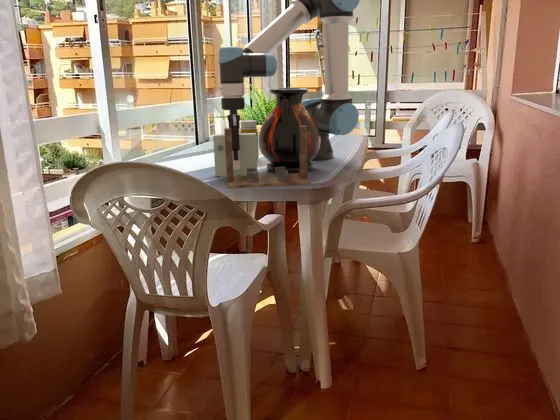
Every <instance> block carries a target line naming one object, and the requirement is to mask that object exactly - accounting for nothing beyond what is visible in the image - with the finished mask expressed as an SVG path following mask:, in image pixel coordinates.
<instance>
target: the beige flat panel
mask: <svg viewBox="0 0 560 420" xmlns="http://www.w3.org/2000/svg"><path fill="white" fill-rule="evenodd" d="M212 135H213V136H212V138H213V139H212V141H213V142H212V143H213V154H214V155H213V156H214V176H220V177H227V172H226V152H225V133H224V134H223V133H222V134H217V133H216V134H212ZM239 146H240V149H239V150H240V170H233V176H238V175H241V176H247V168H257V169H258V159H257V149H256V133H243V134H240V133H239Z"/></svg>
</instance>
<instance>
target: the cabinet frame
mask: <svg viewBox="0 0 560 420" xmlns="http://www.w3.org/2000/svg"><path fill="white" fill-rule="evenodd" d="M223 129H224V130H223V131H224V134H225V152H226V172H227V176H225V177H226V184H227V188H228V189H238V188H240V189H241V188H257V187H259V188H260V187H277V186H279V187H280V186H281V185H282V186H298V185H301V184H302V185H311V183H312V182H311V180H310V179H309V178H308V177H309V176H308V175H309V173H308V172H309V171H308V157H307V126H306V125H304V126H299V162H300V173H288V171H287V170H285V167H275V172H274V173H275V174H259V171H258V167H257V168H247V175H241V176H233V155H232V134H231V128H229V127H225V128H223Z"/></svg>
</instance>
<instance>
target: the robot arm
mask: <svg viewBox="0 0 560 420" xmlns="http://www.w3.org/2000/svg"><path fill="white" fill-rule="evenodd" d="M359 3H360V0H291V1H290V2H289V6H288V8H286V9H285V10H284V11H283V12H281V14H279V16H278V17H276V18H275V19H274V20H273V21H272V22H271V23H270V24H269V25H267V27H265V28H264V29H263V30H262V31H261V32H259V33H258V34H257V35H256V36H255V37H254V38H253V39H252V40H251V41H250V42H249V43H247V44H246V45H245V46H244V47H241V46H221V47H220V48H219V52H218V64H219V76H220V77H219V79H220V86H219V87H218V90H220V95H221V99H220V101H221V110H223V111H229V114H228V115H226V116H227V122H228V128H231V134H232V155H233V170H240V150H239V149H240V146H239V134H240V128H241V115H240V114H238V111H239V110H241V111H242V110H244V109H245V105H246V104H245V102H246V101H245V98H244V96H245V82H244V81H245V78H267V77H273V76H274V75H275V74H276V73H277V70H278V61H277V58H276V56H275V55H274V54H273V51H275V49H277V48H278V47H279V46H280V45H282V44H283V42H285V40H287V39H288V38H289V37H290V36H291V35H292V34H294V32H295V31H296V30H298V29H299V28H300V27H301V26H302V25H303V24H304V25H307V24H308V23H310V21H312V20H313V19H315V18H318V17H319V21H321V22H322V23H323V29H324V30H323V35H324V38H323V39H324V43H323V44H324V50H323V51H324V94H323V95H322V96H321V97H319V98H309V99H302V104H303V106H304V108H305V109H306V110H307V111H308V112H309V113H310V115H311V116H312V117H313V118H314V120H315V121H316V123H317V126H318V129H319V132H320V139H321V141H320V149H319V151H318V153H317V154H316V156H315V157H314V158H313V159H312V160H311V161H323V160H331V159H333V158H334V150H333V146H332V142H331V140H330V135H334V136H347V135H349V134H350V133H353V131H354V129H355V128H356V127H357V125H358V122H359V115H360V114H359V113H360V112H359V109H357V106H356V105H355V104H353V96H352V95H351V94H350V93H349V37H350V36H349V30H350V29H349V26H350V25H349V23H350V22H351V21H352V19H353V18H354V10H355V9H356V8H358V5H359Z"/></svg>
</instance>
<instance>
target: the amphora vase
mask: <svg viewBox="0 0 560 420" xmlns="http://www.w3.org/2000/svg"><path fill="white" fill-rule="evenodd" d="M308 91H309V90H308V88H307V87H276V88H271V89H270V90H269V93H270V94H272V95H274V97H275V105H274V107H273V109H272V110H271V111H270V112H269V113H268V115H267V116H266V117H265V118H264V120H263V122H262V124H261V126H260V129H259V132H258V148H259V150H260V153H261V154H262V156H263V157H264V158H265V159H266V161H268V163H267V164H266V169H267V170H268V171H270V172H271V173H275V167H285V170H287V171H288V174H292V173H300V162H299V126H304V125H306V126H307V157H308V172H309V171H312V170H313V168H314V163H312V162H311V161H313V160H312V159H313V158H314V157H315V156H316V154H317V153H318V151H319V149H320V141H321V139H320V132H319V129H318V126H317V123H316V121H315V120H314V118H313V117H312V116H311V115H310V113H309V112H308V111H307V110H306V109H305V108H304V106H303V104H302V101H303V95H305V94H307V93H308Z"/></svg>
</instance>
